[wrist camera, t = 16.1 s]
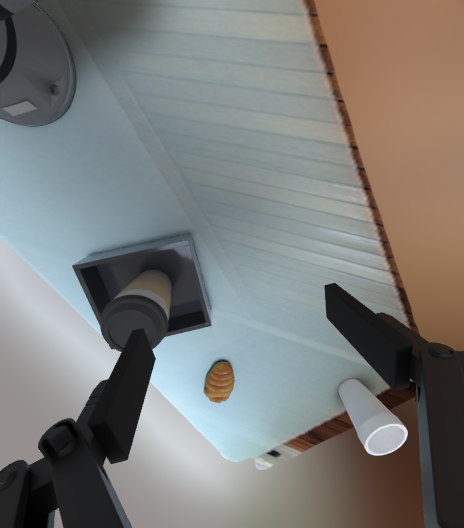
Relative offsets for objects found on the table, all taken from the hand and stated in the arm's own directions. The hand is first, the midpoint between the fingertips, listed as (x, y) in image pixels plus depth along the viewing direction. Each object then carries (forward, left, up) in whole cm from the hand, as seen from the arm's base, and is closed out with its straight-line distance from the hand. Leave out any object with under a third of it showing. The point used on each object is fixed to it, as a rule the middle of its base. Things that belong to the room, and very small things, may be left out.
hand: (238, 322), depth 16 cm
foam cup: (+47, +25, -29) cm, 61 cm away
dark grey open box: (+6, -14, -29) cm, 33 cm away
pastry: (+33, -7, -29) cm, 44 cm away
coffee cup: (+7, -14, -28) cm, 32 cm away
